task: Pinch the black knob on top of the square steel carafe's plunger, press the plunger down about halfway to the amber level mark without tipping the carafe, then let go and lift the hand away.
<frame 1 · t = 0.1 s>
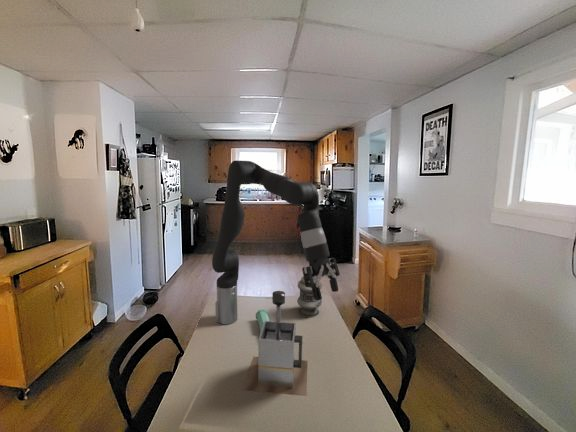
hand: (327, 295, 85), 32 cm above the table, tool tilted 20°, fingers open, 8 cm apart
walnut board: (277, 377, 94), on the table
plunger: (278, 317, 90), point 22 cm above the table, slide at 0.0 cm
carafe: (277, 374, 93), point 1 cm above the table, touching walnut board
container: (266, 335, 118), on the table
apothecary jar: (309, 312, 138), on the table
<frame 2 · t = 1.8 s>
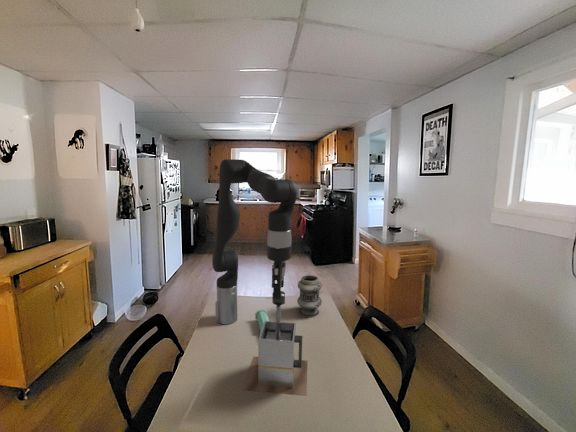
hand: (278, 292, 89), 30 cm above the table, tool pointing down, fingers open, 8 cm apart
nothing on the table moved.
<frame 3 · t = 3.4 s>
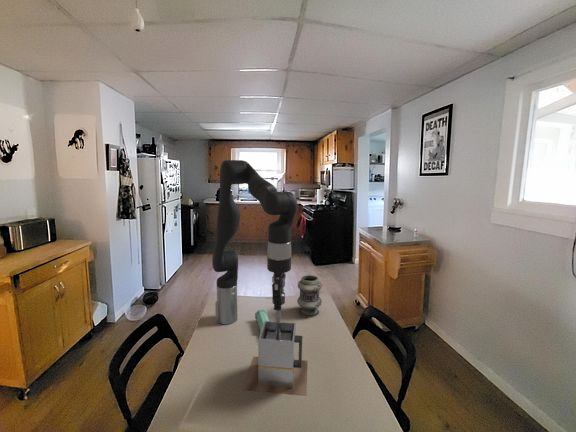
hand: (278, 305, 89), 26 cm above the table, tool pointing down, fingers closed on plunger, 4 cm apart
plunger: (278, 317, 90), point 22 cm above the table, slide at 0.0 cm, touching gripper
everything else where it was.
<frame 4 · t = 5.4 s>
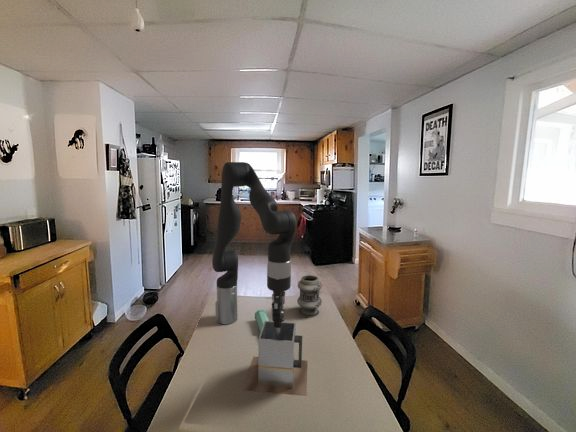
hand: (278, 322, 90), 20 cm above the table, tool pointing down, fingers closed on plunger, 4 cm apart
plunger: (278, 334, 91), point 16 cm above the table, slide at 6.0 cm, touching gripper
everything else where it was.
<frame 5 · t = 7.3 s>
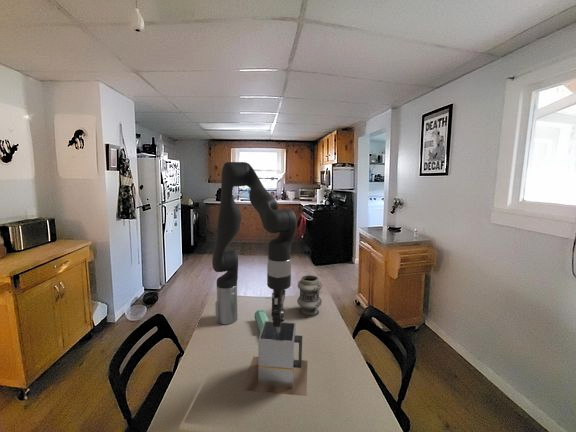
hand: (278, 319, 90), 21 cm above the table, tool pointing down, fingers open, 8 cm apart
plunger: (278, 334, 91), point 16 cm above the table, slide at 6.0 cm
everything else where it was.
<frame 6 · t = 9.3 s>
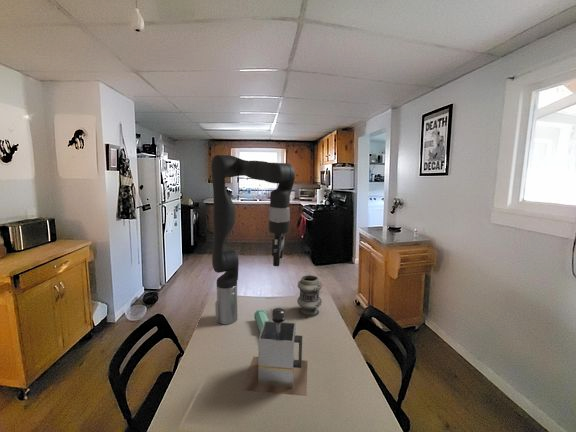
hand: (277, 261, 103), 36 cm above the table, tool pointing down, fingers open, 8 cm apart
nothing on the table moved.
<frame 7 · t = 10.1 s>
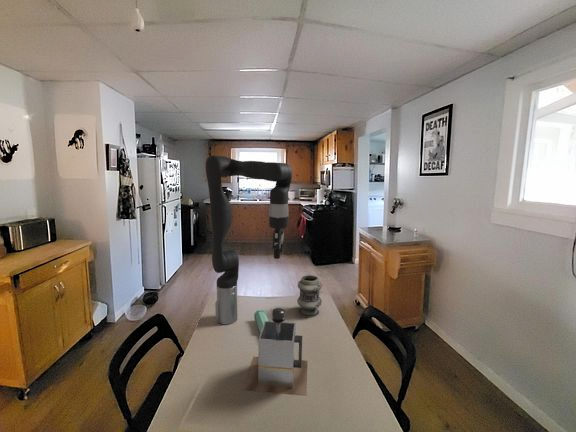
hand: (278, 255, 110), 36 cm above the table, tool pointing down, fingers open, 8 cm apart
nothing on the table moved.
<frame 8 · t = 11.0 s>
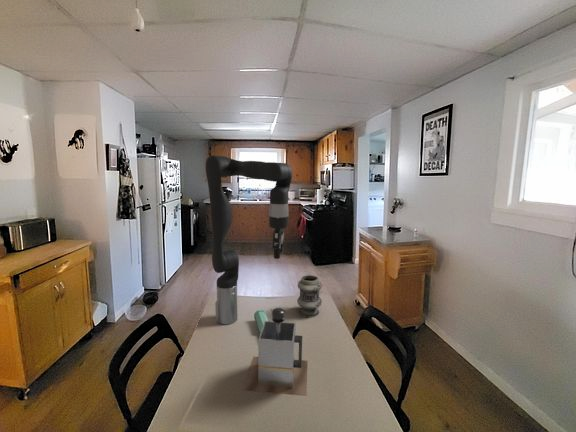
hand: (278, 255, 110), 36 cm above the table, tool pointing down, fingers open, 8 cm apart
nothing on the table moved.
at the end: plunger slide at 6.0 cm; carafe tilted 0°; the gripper is holding nothing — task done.
